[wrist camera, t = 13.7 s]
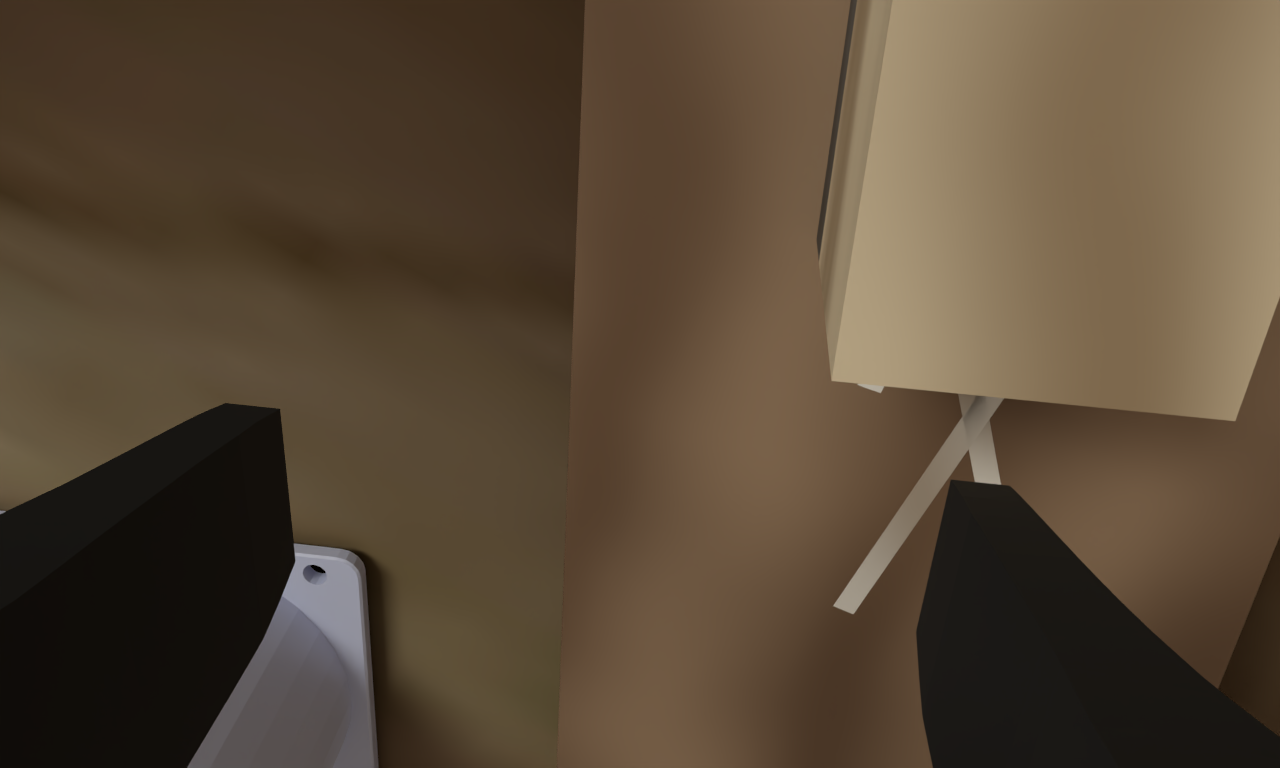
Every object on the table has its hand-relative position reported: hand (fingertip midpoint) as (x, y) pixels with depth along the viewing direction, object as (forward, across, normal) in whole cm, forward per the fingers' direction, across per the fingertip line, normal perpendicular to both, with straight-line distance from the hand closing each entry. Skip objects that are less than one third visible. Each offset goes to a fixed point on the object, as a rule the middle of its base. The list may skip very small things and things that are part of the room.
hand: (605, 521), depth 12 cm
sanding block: (+8, -5, -5) cm, 11 cm away
